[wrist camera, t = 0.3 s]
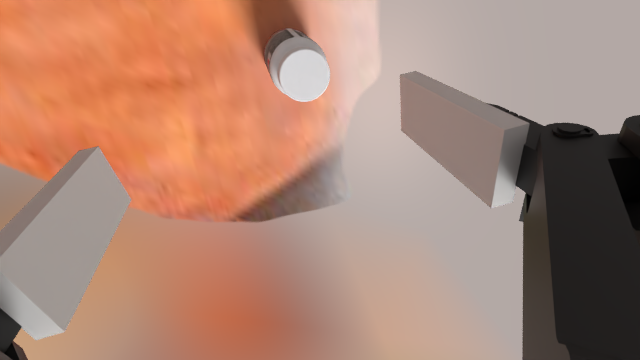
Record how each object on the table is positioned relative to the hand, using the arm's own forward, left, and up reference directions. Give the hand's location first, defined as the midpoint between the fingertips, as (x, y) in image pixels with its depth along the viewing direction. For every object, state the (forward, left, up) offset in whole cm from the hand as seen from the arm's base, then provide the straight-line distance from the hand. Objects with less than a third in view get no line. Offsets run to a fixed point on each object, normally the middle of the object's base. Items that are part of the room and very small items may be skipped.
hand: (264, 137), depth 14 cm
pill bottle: (+2, +4, -25) cm, 26 cm away
